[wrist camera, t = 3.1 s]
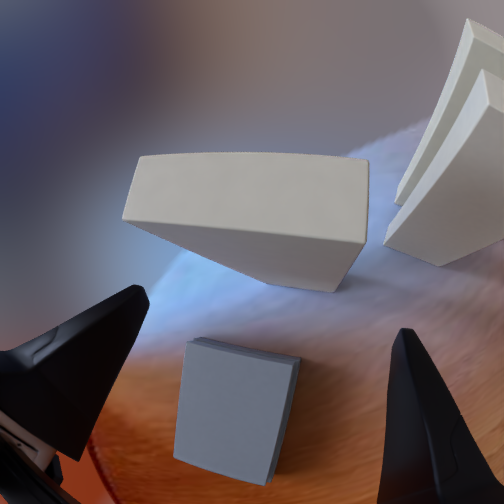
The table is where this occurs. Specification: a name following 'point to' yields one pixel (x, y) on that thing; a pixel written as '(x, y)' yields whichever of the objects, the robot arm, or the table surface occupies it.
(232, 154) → the slim cream book
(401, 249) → the cream books
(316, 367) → the table surface
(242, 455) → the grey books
